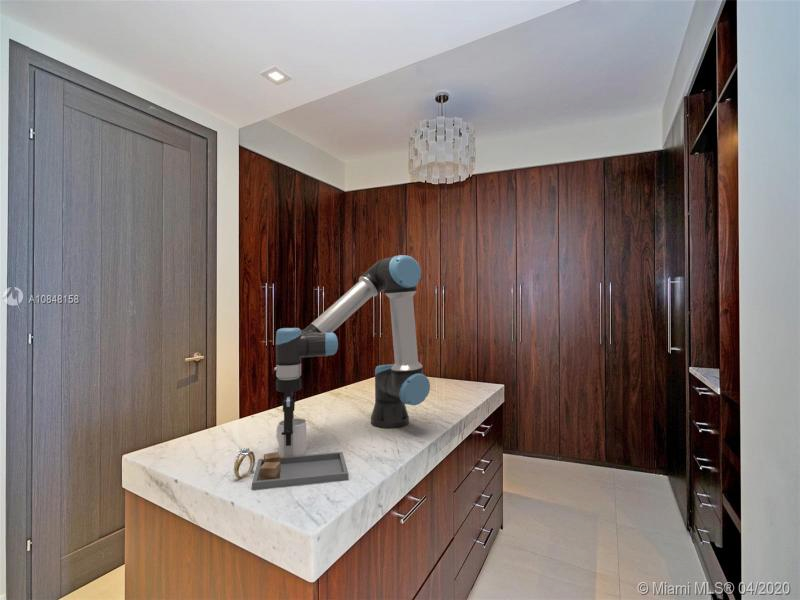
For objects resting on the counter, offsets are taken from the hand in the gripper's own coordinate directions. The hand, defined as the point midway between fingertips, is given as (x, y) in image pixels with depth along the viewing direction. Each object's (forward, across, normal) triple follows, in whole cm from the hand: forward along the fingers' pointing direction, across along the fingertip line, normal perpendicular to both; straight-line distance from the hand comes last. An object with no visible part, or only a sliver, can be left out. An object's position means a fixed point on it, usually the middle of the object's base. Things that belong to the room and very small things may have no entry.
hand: (289, 449), depth 125 cm
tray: (+2, +16, +4) cm, 17 cm away
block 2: (+1, +20, -4) cm, 20 cm away
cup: (+2, -1, 0) cm, 2 cm away
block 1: (+1, +12, -4) cm, 13 cm away
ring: (+2, +15, -11) cm, 19 cm away
